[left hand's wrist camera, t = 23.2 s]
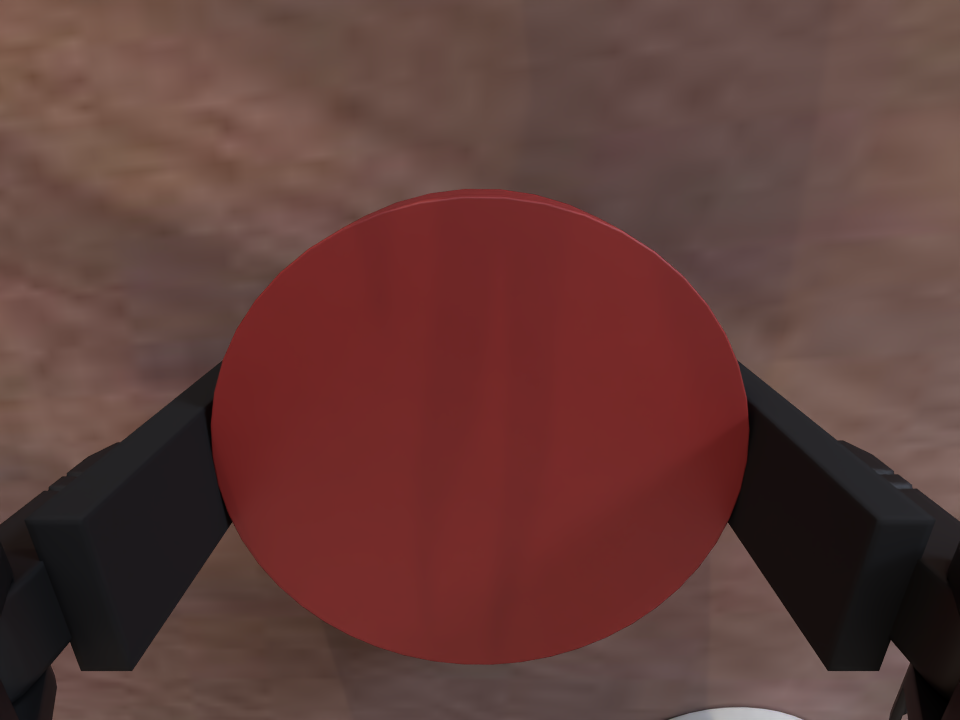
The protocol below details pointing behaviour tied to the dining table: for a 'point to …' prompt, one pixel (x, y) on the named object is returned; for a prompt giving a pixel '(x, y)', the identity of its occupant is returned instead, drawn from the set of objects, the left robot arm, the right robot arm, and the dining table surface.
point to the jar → (736, 714)
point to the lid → (480, 428)
